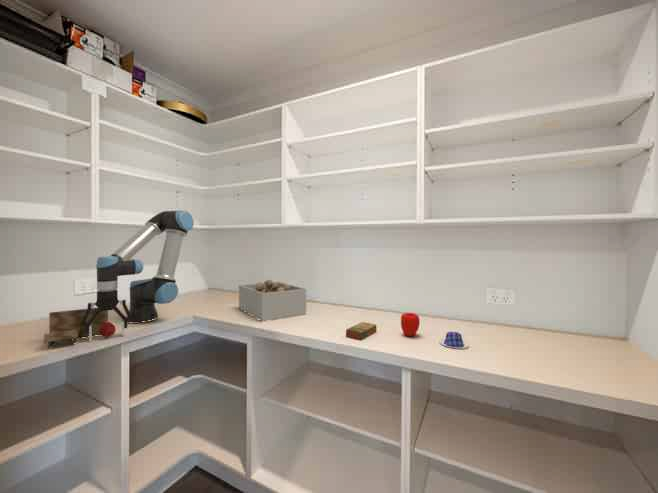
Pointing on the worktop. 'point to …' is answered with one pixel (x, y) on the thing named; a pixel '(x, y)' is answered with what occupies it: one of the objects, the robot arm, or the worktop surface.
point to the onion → (107, 329)
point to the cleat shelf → (61, 336)
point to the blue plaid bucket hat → (454, 340)
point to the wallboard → (76, 321)
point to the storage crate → (272, 302)
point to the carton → (361, 331)
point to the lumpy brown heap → (269, 285)
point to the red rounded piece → (409, 323)
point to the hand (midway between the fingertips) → (107, 337)
